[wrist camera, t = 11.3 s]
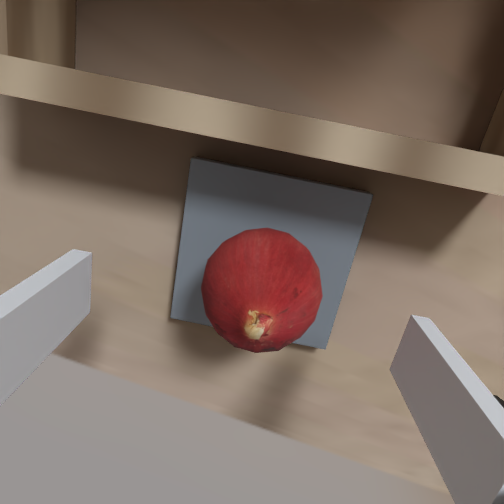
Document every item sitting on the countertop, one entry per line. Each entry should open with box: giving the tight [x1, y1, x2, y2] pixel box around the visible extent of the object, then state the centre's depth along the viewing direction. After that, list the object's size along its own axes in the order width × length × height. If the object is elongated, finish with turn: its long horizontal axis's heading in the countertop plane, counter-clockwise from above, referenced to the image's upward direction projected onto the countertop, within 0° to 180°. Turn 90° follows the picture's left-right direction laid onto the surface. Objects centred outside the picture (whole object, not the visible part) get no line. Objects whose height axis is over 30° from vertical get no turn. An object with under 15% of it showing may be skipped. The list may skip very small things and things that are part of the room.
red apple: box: [201, 228, 323, 353], centre depth 17 cm, size 6×6×8 cm
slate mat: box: [170, 157, 373, 349], centre depth 21 cm, size 10×10×1 cm
